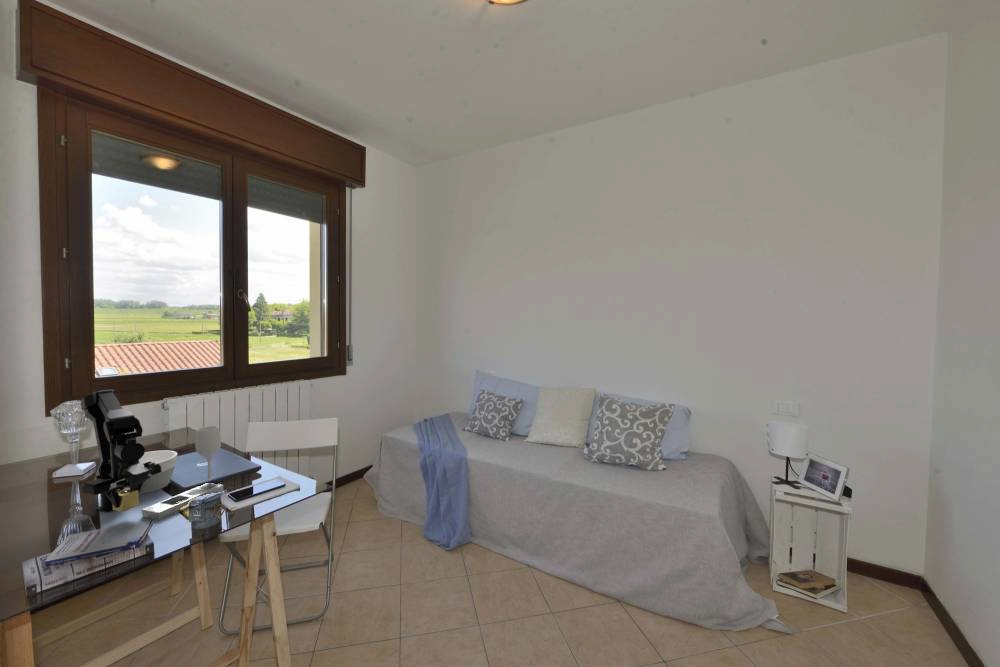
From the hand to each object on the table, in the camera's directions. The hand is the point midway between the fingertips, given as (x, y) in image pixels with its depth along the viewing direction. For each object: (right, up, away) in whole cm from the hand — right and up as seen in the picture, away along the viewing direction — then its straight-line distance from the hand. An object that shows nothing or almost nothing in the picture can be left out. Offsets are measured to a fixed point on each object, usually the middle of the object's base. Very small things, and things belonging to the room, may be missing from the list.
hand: (125, 504), depth 135 cm
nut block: (0, -1, 0) cm, 1 cm away
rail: (+11, -4, +11) cm, 16 cm away
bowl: (-14, -4, +25) cm, 29 cm away
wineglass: (+7, -3, +29) cm, 30 cm away
